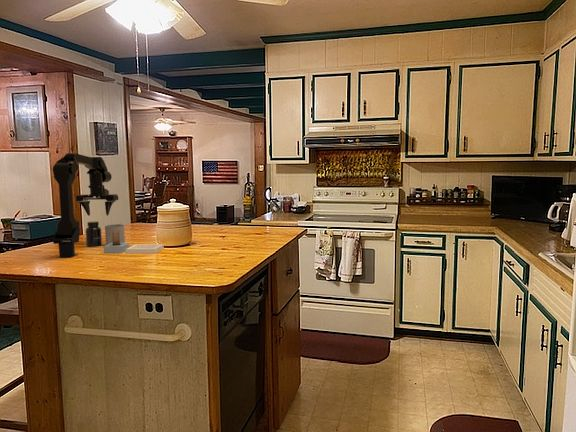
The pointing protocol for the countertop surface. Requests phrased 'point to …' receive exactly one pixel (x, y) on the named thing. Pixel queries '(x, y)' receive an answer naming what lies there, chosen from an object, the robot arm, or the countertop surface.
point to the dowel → (115, 238)
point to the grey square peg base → (115, 248)
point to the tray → (145, 248)
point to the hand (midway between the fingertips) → (98, 215)
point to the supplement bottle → (93, 234)
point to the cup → (114, 228)
